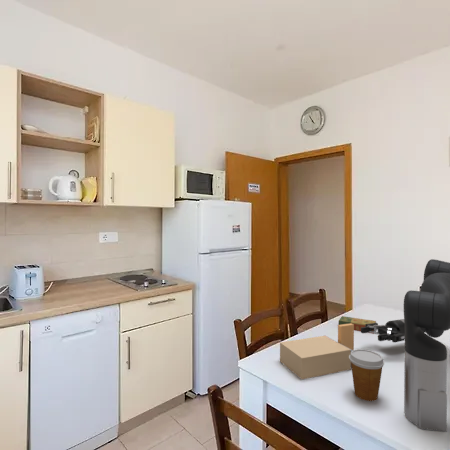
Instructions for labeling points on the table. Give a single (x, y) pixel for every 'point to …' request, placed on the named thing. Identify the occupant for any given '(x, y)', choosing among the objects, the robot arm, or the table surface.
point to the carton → (355, 322)
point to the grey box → (346, 335)
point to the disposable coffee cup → (366, 373)
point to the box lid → (314, 356)
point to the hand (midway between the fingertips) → (369, 334)
